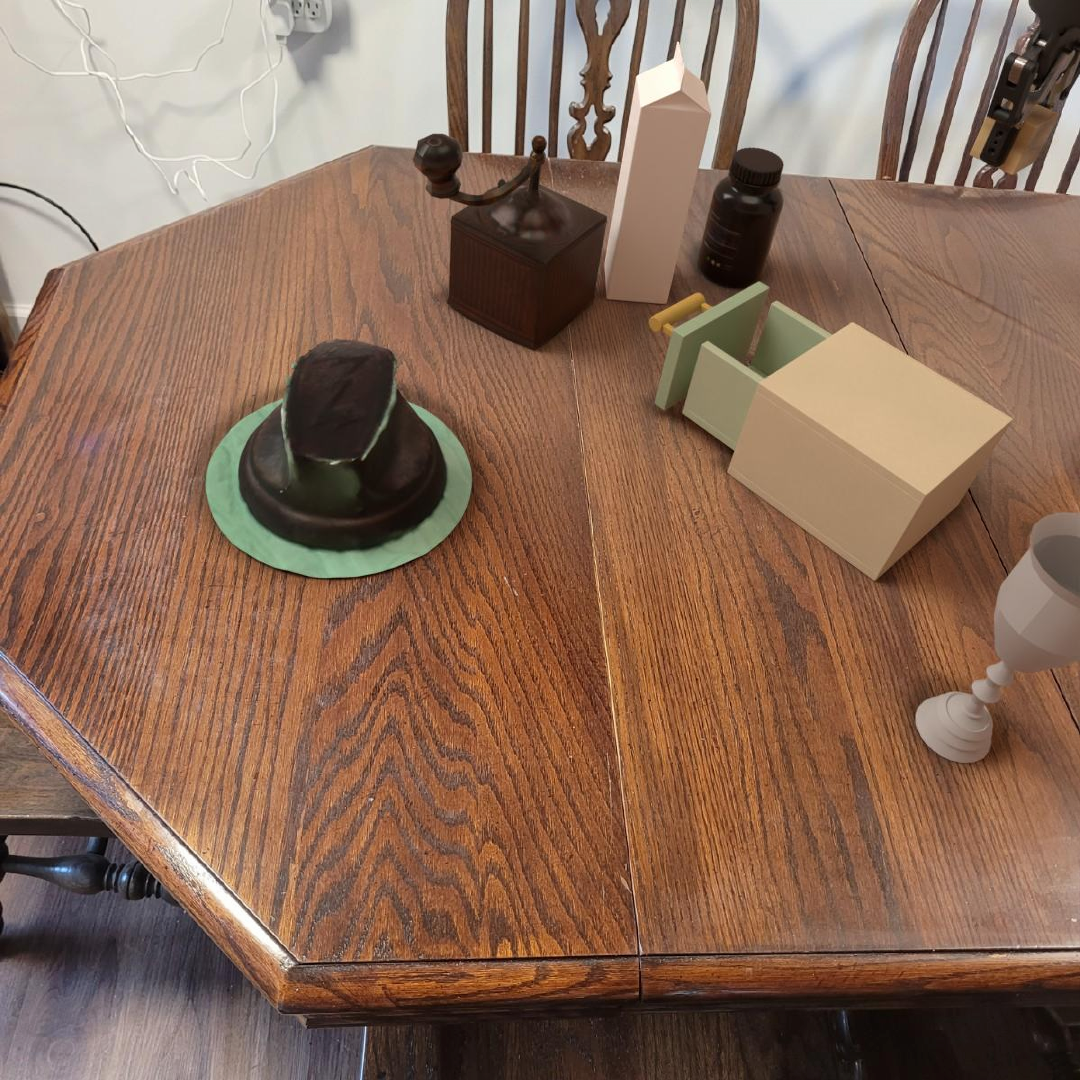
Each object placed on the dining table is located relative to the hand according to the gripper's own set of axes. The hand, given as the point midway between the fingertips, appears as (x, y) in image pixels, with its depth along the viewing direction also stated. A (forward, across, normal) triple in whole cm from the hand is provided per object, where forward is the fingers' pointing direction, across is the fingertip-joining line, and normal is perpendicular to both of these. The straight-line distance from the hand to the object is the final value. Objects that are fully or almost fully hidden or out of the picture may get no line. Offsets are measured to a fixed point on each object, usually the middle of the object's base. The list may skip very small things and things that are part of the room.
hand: (1004, 154), depth 89 cm
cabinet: (+14, -35, -11) cm, 39 cm away
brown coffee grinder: (+14, -42, +23) cm, 50 cm away
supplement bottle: (+14, -18, +15) cm, 27 cm away
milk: (+14, -28, +19) cm, 36 cm away
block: (0, 0, 0) cm, 0 cm away
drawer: (+13, -35, 0) cm, 37 cm away
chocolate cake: (+14, -66, +15) cm, 69 cm away
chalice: (+14, -48, -29) cm, 58 cm away
